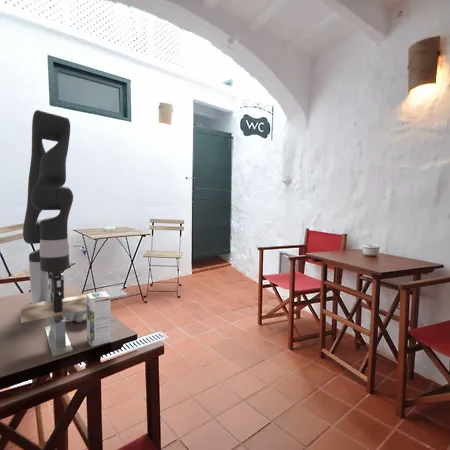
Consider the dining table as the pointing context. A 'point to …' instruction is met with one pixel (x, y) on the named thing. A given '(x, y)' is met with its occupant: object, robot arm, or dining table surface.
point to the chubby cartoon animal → (75, 316)
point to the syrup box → (98, 318)
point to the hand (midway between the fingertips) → (56, 308)
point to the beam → (52, 308)
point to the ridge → (58, 336)
